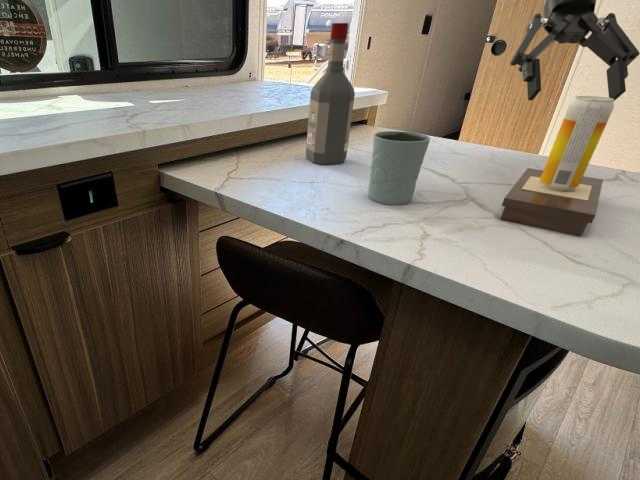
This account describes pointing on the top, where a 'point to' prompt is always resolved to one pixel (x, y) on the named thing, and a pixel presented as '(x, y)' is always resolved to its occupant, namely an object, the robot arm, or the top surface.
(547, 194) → the brown lidded keepsake box
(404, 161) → the green embossed cup
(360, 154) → the top surface
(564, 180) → the beer can
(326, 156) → the liquor
